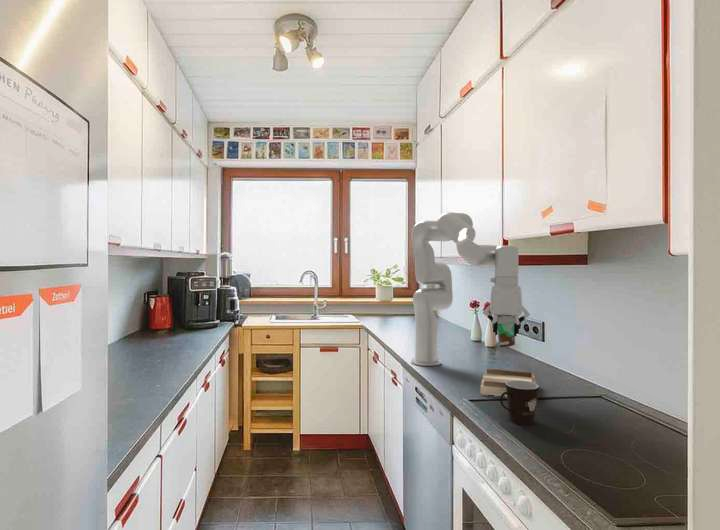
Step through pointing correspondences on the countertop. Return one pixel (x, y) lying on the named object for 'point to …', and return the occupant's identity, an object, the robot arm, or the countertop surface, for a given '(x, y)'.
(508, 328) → the food container
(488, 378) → the dock
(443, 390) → the countertop surface
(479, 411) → the countertop surface
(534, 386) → the coffee mug
